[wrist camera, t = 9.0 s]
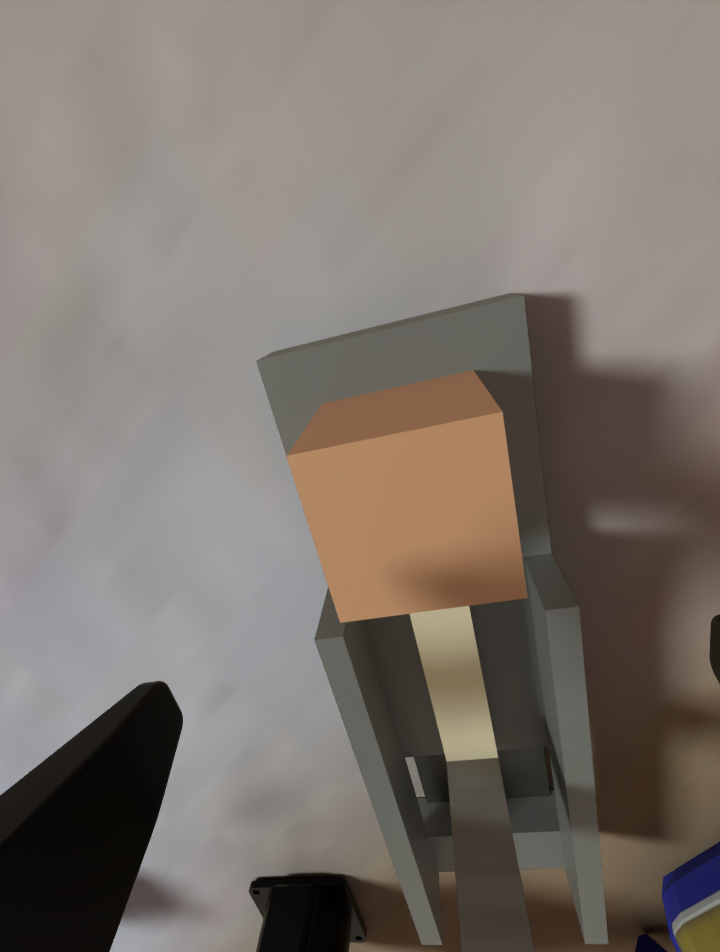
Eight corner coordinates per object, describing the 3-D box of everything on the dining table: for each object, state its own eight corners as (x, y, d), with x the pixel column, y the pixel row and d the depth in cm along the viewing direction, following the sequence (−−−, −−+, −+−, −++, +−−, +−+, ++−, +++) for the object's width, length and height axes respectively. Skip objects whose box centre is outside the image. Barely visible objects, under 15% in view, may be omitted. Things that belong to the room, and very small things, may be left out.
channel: (572, 825, 26) (608, 944, 21) (419, 832, 27) (421, 945, 23) (510, 293, 16) (552, 299, 11) (272, 352, 17) (223, 379, 13)
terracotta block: (494, 509, 17) (527, 597, 12) (358, 532, 17) (339, 623, 13) (473, 370, 15) (502, 411, 10) (322, 403, 16) (286, 455, 11)
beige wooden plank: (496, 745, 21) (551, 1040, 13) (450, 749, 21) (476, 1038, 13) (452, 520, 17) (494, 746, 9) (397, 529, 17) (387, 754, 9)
